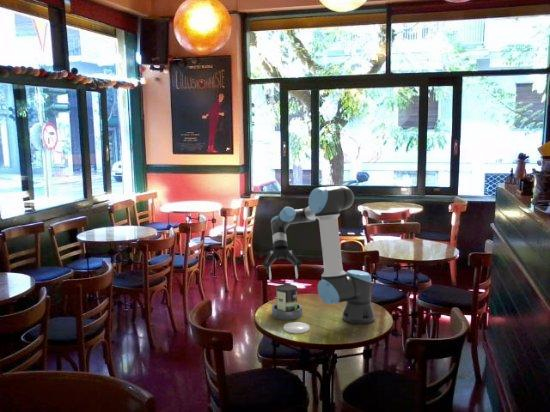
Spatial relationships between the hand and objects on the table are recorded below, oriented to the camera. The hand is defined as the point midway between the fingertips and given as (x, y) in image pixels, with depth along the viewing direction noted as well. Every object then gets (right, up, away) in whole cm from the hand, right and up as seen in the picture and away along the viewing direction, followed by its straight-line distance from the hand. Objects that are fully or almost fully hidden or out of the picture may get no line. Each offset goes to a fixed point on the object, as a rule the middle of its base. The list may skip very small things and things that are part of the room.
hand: (283, 278), depth 268 cm
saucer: (+5, -20, -25) cm, 32 cm away
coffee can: (+1, -17, -7) cm, 19 cm away
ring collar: (+1, -17, -7) cm, 18 cm away
